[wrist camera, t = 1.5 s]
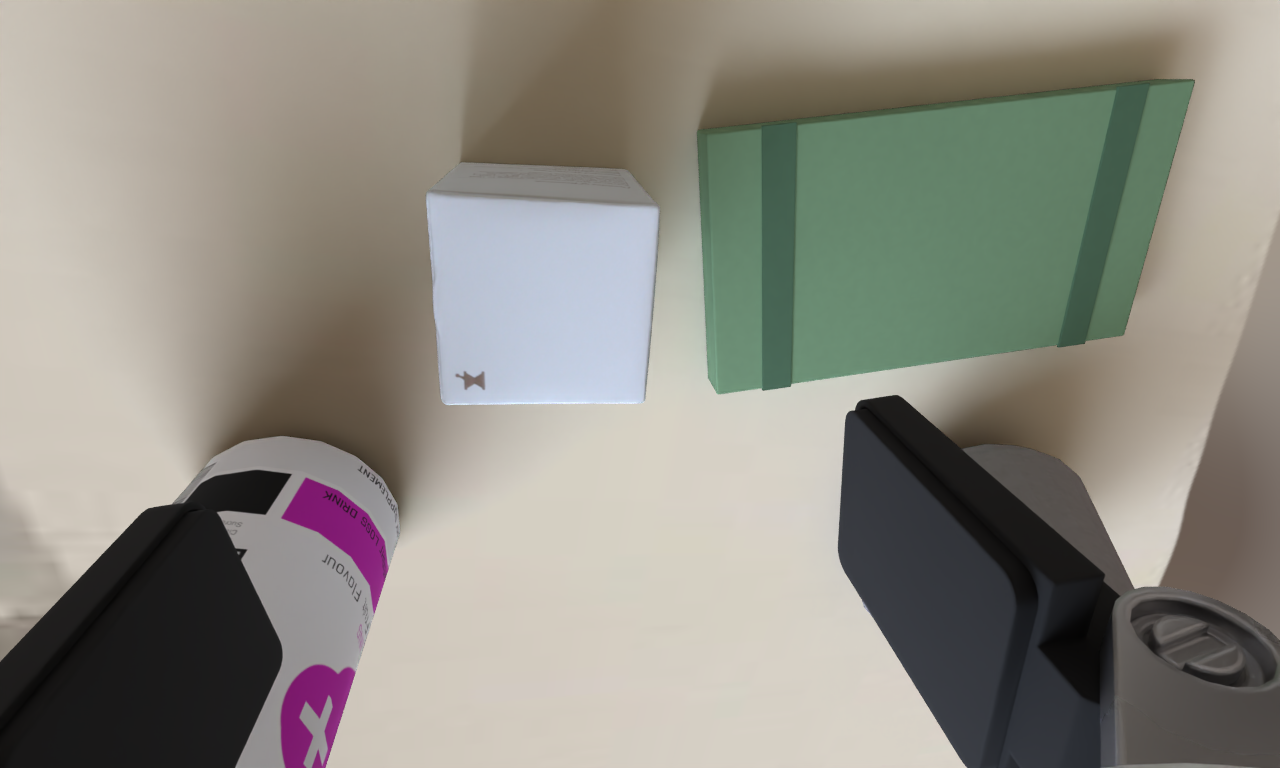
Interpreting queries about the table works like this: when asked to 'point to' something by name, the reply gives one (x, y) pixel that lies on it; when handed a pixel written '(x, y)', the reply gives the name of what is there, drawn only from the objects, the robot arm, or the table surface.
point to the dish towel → (929, 230)
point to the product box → (542, 284)
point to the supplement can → (304, 577)
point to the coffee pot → (1055, 503)
